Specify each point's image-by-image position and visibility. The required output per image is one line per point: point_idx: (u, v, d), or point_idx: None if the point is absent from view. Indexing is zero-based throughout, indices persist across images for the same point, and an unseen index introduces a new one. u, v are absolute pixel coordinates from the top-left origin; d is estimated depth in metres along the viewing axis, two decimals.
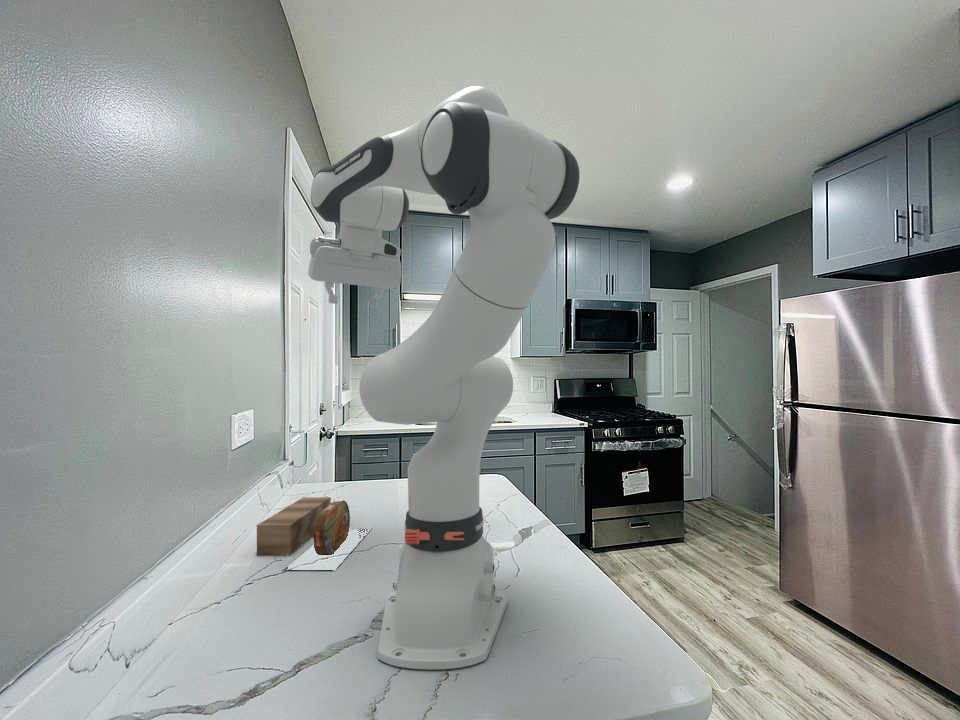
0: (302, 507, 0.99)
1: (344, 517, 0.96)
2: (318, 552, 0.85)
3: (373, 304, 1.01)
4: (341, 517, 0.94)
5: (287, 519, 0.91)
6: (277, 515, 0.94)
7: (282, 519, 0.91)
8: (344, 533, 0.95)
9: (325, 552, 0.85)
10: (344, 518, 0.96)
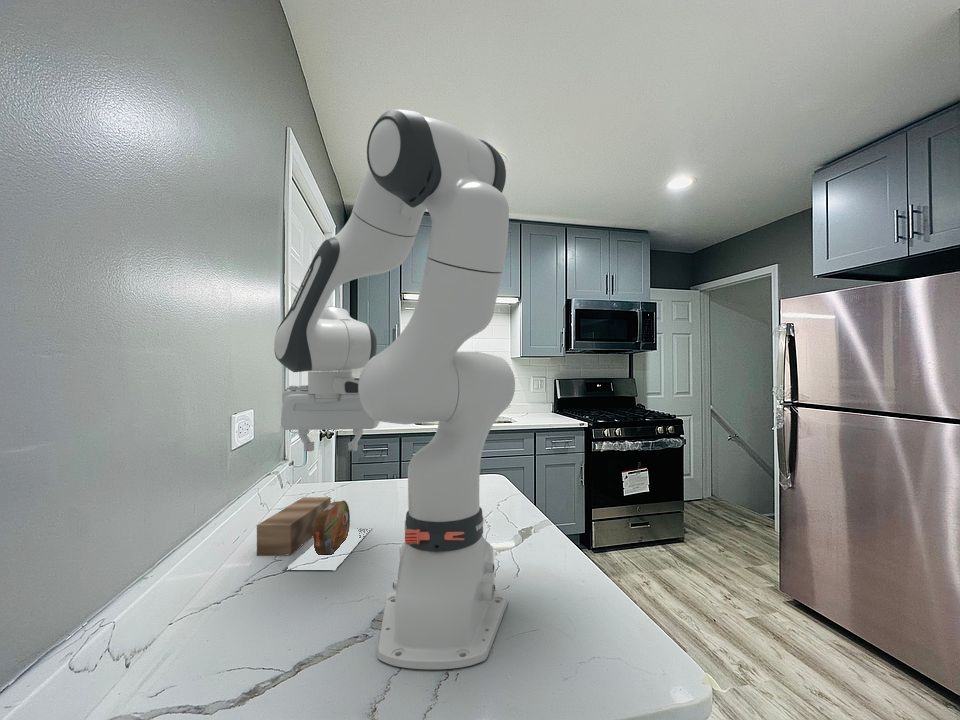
0: (302, 507, 0.99)
1: (344, 517, 0.96)
2: (318, 552, 0.85)
3: (349, 448, 0.91)
4: (341, 517, 0.94)
5: (287, 519, 0.91)
6: (277, 515, 0.94)
7: (282, 519, 0.91)
8: (344, 533, 0.95)
9: (325, 552, 0.85)
10: (344, 518, 0.96)
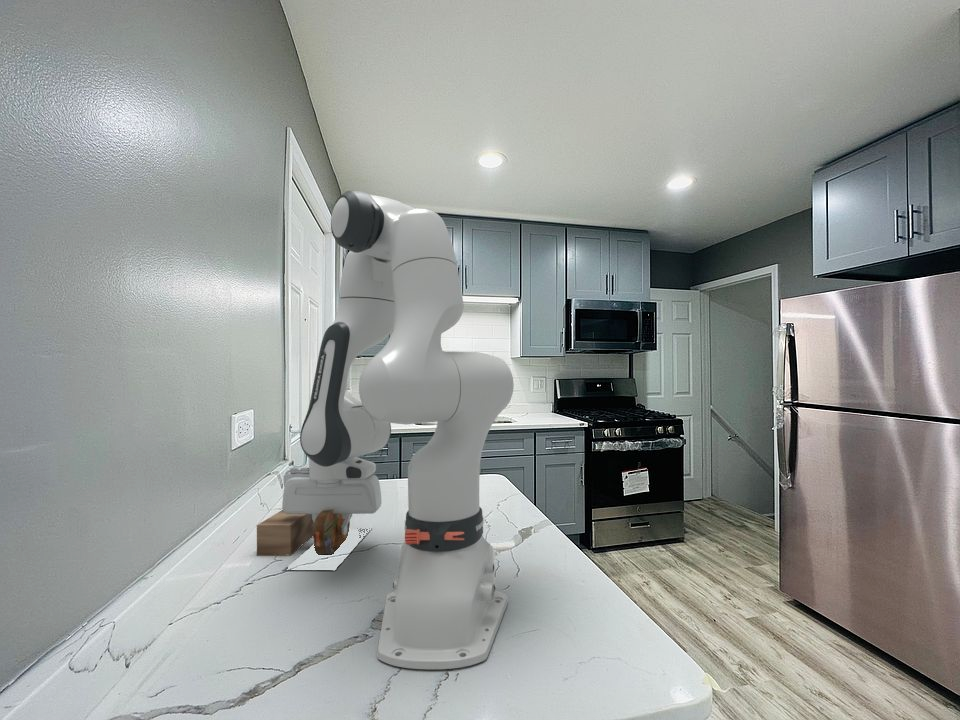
0: None
1: None
2: (318, 552, 0.85)
3: (338, 533, 0.90)
4: (341, 517, 0.94)
5: (287, 519, 0.91)
6: (277, 515, 0.94)
7: (282, 519, 0.91)
8: None
9: (325, 552, 0.85)
10: None
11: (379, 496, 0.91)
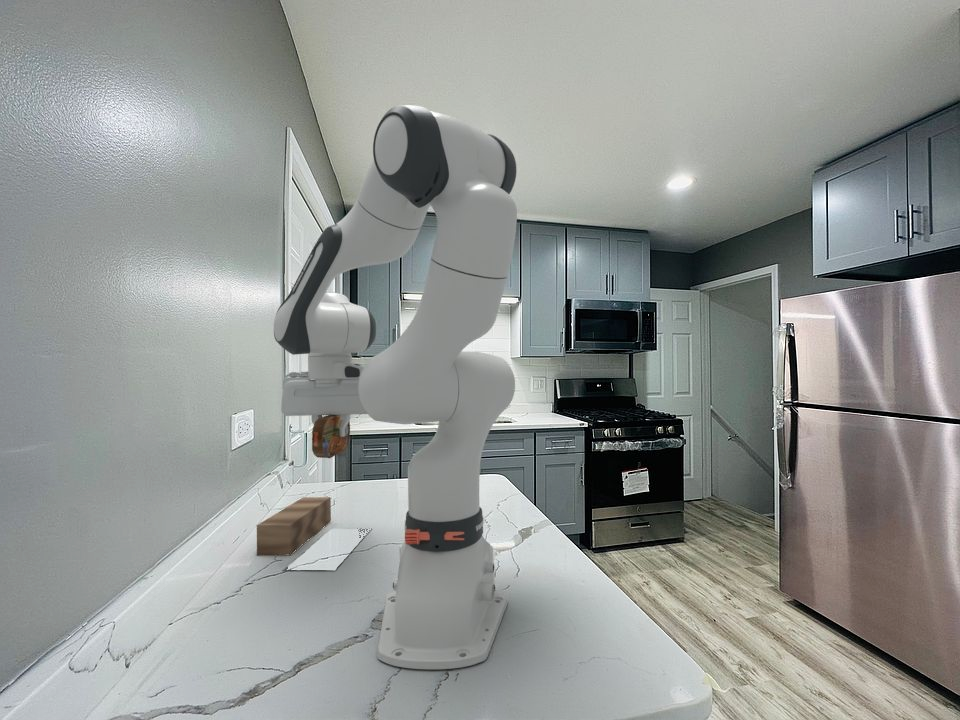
0: (302, 507, 0.99)
1: None
2: (315, 453, 0.86)
3: (337, 434, 0.91)
4: None
5: (287, 519, 0.91)
6: (277, 515, 0.94)
7: (282, 519, 0.91)
8: (343, 445, 0.96)
9: (322, 453, 0.86)
10: None
11: None
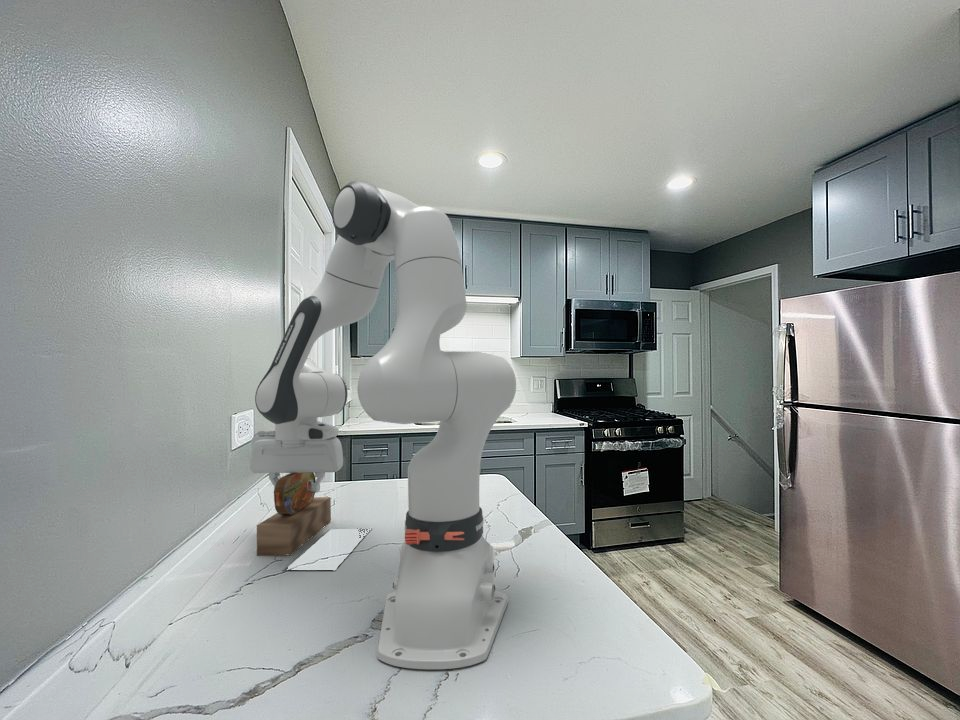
0: None
1: (309, 483, 1.03)
2: (278, 511, 0.92)
3: (311, 490, 0.97)
4: (305, 483, 1.01)
5: (287, 519, 0.91)
6: (277, 515, 0.94)
7: (282, 519, 0.91)
8: (309, 498, 1.02)
9: (285, 512, 0.92)
10: (309, 484, 1.03)
11: (340, 457, 0.98)
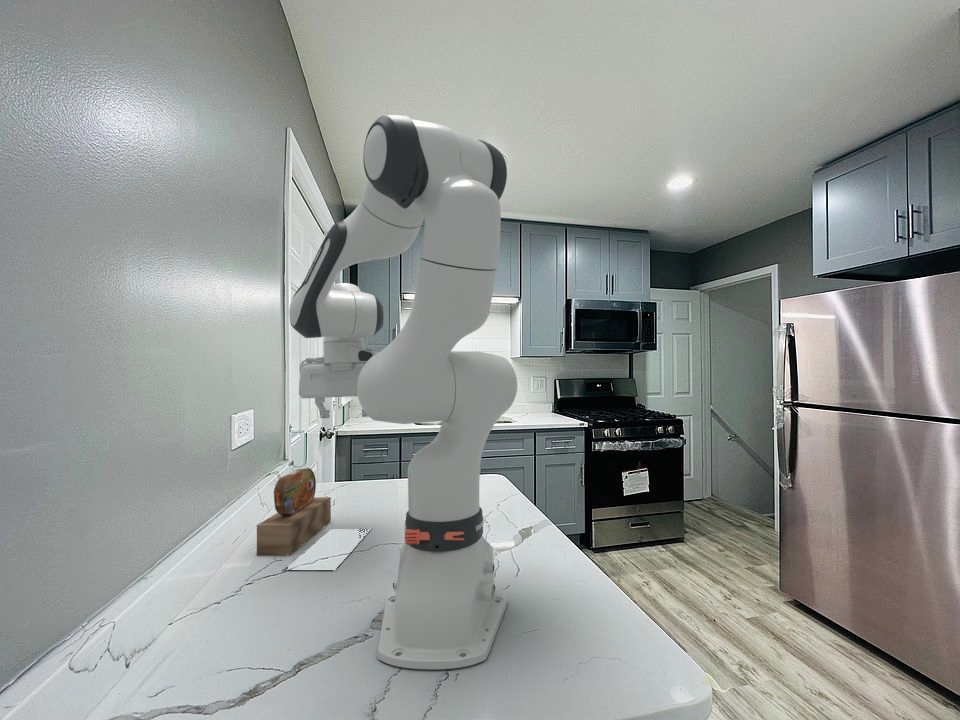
0: None
1: (309, 483, 1.03)
2: (278, 511, 0.92)
3: (363, 414, 0.97)
4: (305, 483, 1.01)
5: (287, 519, 0.91)
6: (277, 515, 0.94)
7: (282, 519, 0.91)
8: (309, 498, 1.02)
9: (285, 512, 0.92)
10: (309, 484, 1.03)
11: None
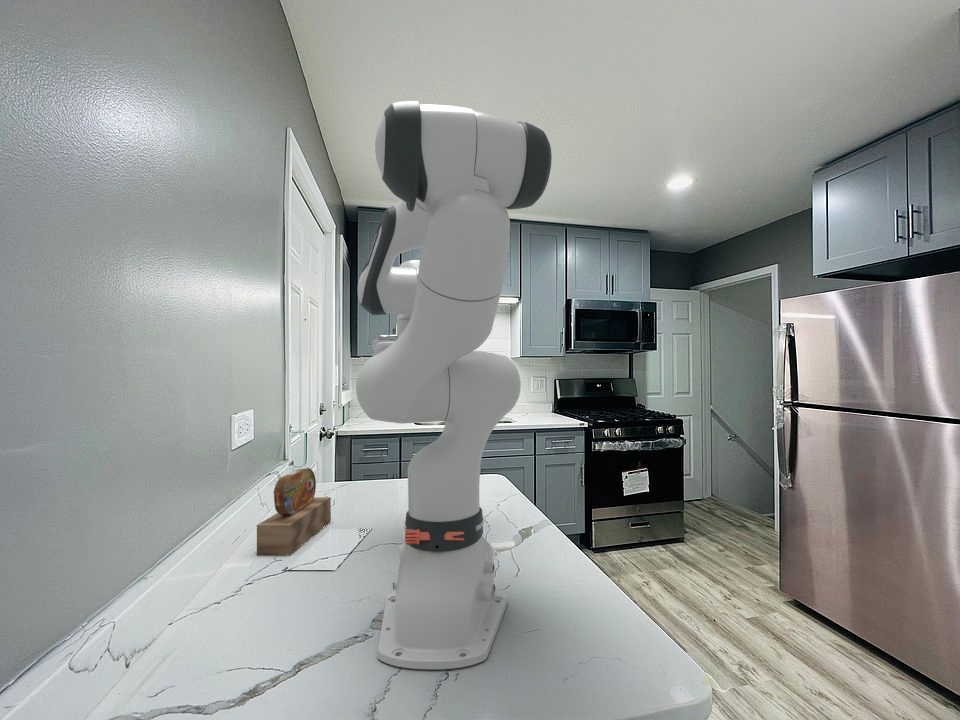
0: None
1: (309, 483, 1.03)
2: (278, 511, 0.92)
3: None
4: (305, 483, 1.01)
5: (287, 519, 0.91)
6: (277, 515, 0.94)
7: (282, 519, 0.91)
8: (309, 498, 1.02)
9: (285, 512, 0.92)
10: (309, 484, 1.03)
11: None
